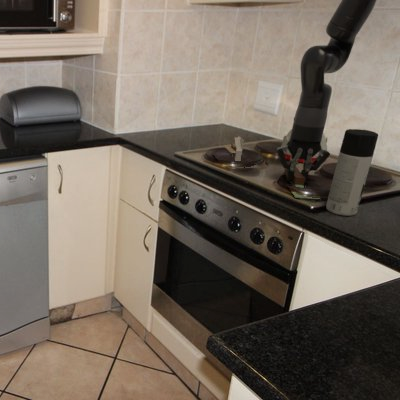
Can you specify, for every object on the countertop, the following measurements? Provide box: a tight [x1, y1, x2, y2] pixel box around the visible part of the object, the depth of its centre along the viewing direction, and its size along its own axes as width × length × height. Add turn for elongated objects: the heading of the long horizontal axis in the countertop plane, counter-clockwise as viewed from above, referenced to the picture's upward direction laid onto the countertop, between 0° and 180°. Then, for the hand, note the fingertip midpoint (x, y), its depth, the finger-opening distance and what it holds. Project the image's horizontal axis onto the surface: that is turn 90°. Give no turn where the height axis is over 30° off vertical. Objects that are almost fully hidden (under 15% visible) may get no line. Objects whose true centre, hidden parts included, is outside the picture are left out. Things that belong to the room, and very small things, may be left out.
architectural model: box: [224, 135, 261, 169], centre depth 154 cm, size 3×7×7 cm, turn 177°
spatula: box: [283, 166, 321, 200], centre depth 133 cm, size 21×6×3 cm, turn 167°
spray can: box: [325, 128, 379, 217], centre depth 114 cm, size 7×7×20 cm
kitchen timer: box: [280, 128, 328, 164], centre depth 156 cm, size 14×14×15 cm
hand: (295, 182), depth 135 cm, fingers closed on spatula, 2 cm apart
